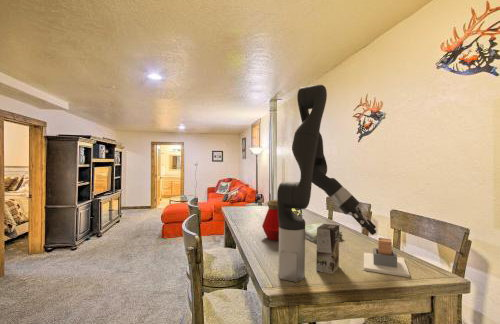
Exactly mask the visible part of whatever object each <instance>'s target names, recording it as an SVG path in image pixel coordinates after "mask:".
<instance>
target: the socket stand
mask: <svg viewBox="0 0 500 324" xmlns="http://www.w3.org/2000/svg"><path fill="white" fill-rule="evenodd" d="M372 250H373V251H372V253H369V252H363V271H367V272H374V273H379V274H386V275H391V276H399V277H406V278H410V277H411V274H410V272H409V269H408V266H407V264H406V261H405V258H404V257H401V256H400V257H399V256H398V255H397V252H396V250H393V249H392V256H391V255H383V254H378V247H377V248H376V247H373V249H372Z"/></svg>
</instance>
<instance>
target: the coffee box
mask: <svg viewBox="0 0 500 324" xmlns="http://www.w3.org/2000/svg"><path fill="white" fill-rule="evenodd" d="M339 231H340V224H339V225H338V224H330V223H329V224H328V223H324V224H322V225H321V226H319V227H318V228H317V242H316V258H315V261H316V263H315V264H316V269H315V270H316V271H318V272H322V273H326V274H330V275H333V274H334V273H335V271H336V270H337V269H338V268H339V267H340V240H339Z"/></svg>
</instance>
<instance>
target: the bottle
mask: <svg viewBox="0 0 500 324" xmlns="http://www.w3.org/2000/svg"><path fill="white" fill-rule="evenodd" d="M266 204H267V207H268V210H267V212H266V214H265V217H264V220H263V223H262V229H263V232H264V234H265V236H266V237H267V239H268V240H270V241H273V242H279V221H278V204H277V199H269V200H268V201H267V203H266Z"/></svg>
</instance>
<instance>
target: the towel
mask: <svg viewBox="0 0 500 324" xmlns="http://www.w3.org/2000/svg"><path fill="white" fill-rule="evenodd" d="M322 224H325V223H324V222H319V223H312V224H305V240H308V241H311V242H312V243H317V228H318V227H319V226H321V225H322ZM342 233H343V232H342V231H341V230H339V241H340V240H342V239H343V234H342Z"/></svg>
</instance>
